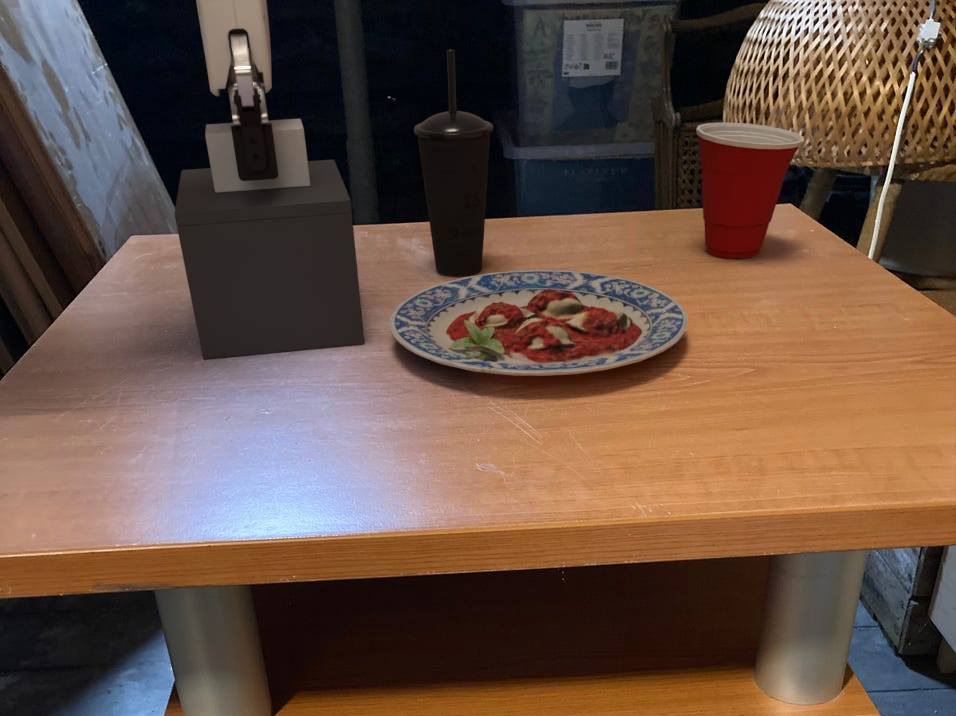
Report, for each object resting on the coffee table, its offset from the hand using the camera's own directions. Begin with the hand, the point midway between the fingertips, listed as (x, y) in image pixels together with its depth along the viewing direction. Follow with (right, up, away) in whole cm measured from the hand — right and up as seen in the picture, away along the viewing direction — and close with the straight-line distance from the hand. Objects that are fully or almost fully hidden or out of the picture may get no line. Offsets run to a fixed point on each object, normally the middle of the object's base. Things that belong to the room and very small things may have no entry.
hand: (257, 166), depth 85 cm
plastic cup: (+47, +1, +22) cm, 52 cm away
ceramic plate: (+24, -14, +3) cm, 28 cm away
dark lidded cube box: (0, -11, +8) cm, 13 cm away
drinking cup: (+17, -2, +20) cm, 26 cm away
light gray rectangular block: (0, -1, +1) cm, 1 cm away
